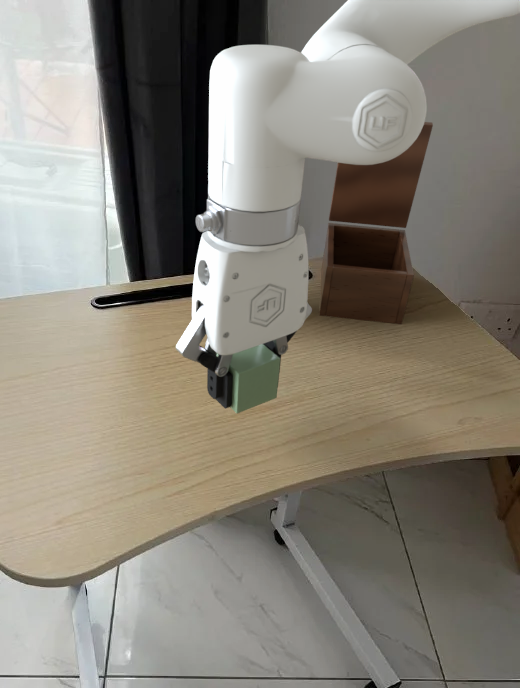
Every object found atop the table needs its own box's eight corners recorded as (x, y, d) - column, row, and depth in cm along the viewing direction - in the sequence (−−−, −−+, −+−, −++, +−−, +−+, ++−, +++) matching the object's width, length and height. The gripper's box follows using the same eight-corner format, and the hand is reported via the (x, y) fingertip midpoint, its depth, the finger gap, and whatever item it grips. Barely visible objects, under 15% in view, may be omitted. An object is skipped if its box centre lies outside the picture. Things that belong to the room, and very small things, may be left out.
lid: (433, 125, 80) (430, 104, 84) (345, 118, 81) (346, 97, 84) (406, 228, 91) (404, 205, 94) (328, 221, 91) (330, 198, 95)
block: (249, 373, 68) (251, 334, 65) (276, 398, 65) (280, 358, 62) (210, 388, 66) (210, 348, 63) (236, 414, 63) (238, 373, 60)
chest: (398, 335, 86) (414, 275, 80) (317, 327, 87) (326, 266, 81) (392, 286, 97) (405, 229, 91) (319, 279, 97) (328, 222, 92)
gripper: (187, 257, 48) (189, 442, 59) (361, 211, 56) (333, 384, 67) (140, 221, 53) (150, 398, 64) (305, 183, 60) (288, 348, 72)
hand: (243, 389), depth 65 cm, fingers closed on block, 4 cm apart
